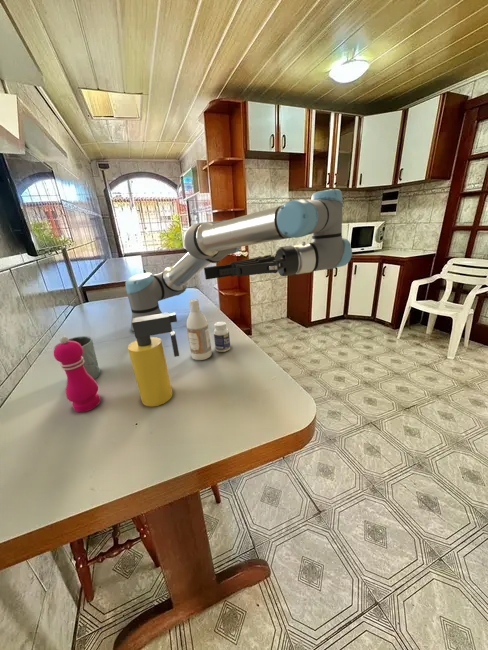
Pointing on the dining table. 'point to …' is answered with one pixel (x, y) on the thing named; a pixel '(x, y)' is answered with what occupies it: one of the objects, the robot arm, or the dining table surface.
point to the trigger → (174, 343)
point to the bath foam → (198, 332)
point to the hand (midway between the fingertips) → (205, 273)
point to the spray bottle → (151, 358)
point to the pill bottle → (221, 337)
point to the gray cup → (88, 355)
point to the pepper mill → (76, 376)
